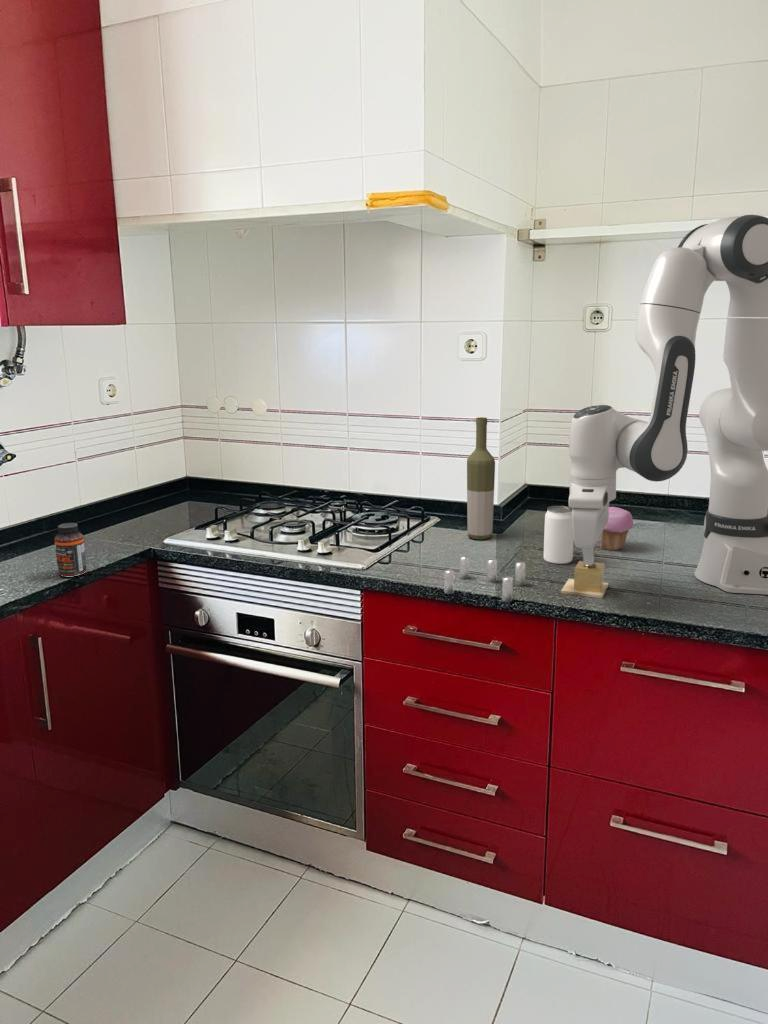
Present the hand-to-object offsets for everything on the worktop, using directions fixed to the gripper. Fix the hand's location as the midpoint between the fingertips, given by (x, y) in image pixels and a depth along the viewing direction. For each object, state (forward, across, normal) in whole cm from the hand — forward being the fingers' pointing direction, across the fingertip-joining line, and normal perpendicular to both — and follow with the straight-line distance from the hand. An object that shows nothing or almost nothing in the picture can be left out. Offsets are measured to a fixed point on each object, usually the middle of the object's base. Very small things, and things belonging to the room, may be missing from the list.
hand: (592, 556), depth 157 cm
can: (+7, -17, -10) cm, 21 cm away
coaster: (+7, +1, -1) cm, 7 cm away
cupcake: (+8, -31, 0) cm, 32 cm away
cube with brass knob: (+6, +1, -1) cm, 6 cm away
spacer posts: (+6, +7, -20) cm, 22 cm away
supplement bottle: (+2, +31, -107) cm, 112 cm away
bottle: (+6, -29, -32) cm, 44 cm away
